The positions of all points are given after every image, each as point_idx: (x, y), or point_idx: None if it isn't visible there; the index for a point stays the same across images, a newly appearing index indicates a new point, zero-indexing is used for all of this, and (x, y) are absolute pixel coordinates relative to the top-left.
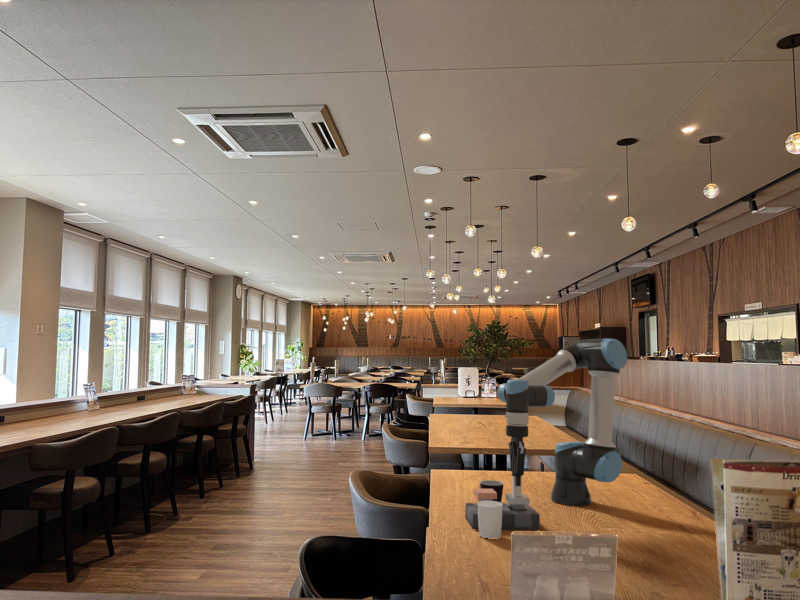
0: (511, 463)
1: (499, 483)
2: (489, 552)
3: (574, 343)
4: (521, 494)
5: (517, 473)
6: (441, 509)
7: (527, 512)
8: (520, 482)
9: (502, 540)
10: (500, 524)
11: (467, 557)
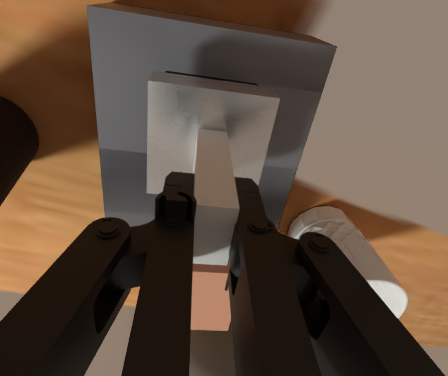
0: (94, 353)
1: None
2: (422, 260)
3: None
4: (171, 107)
5: (317, 293)
6: (24, 280)
7: (286, 99)
8: (259, 195)
9: (361, 210)
10: (366, 240)
11: (422, 299)
